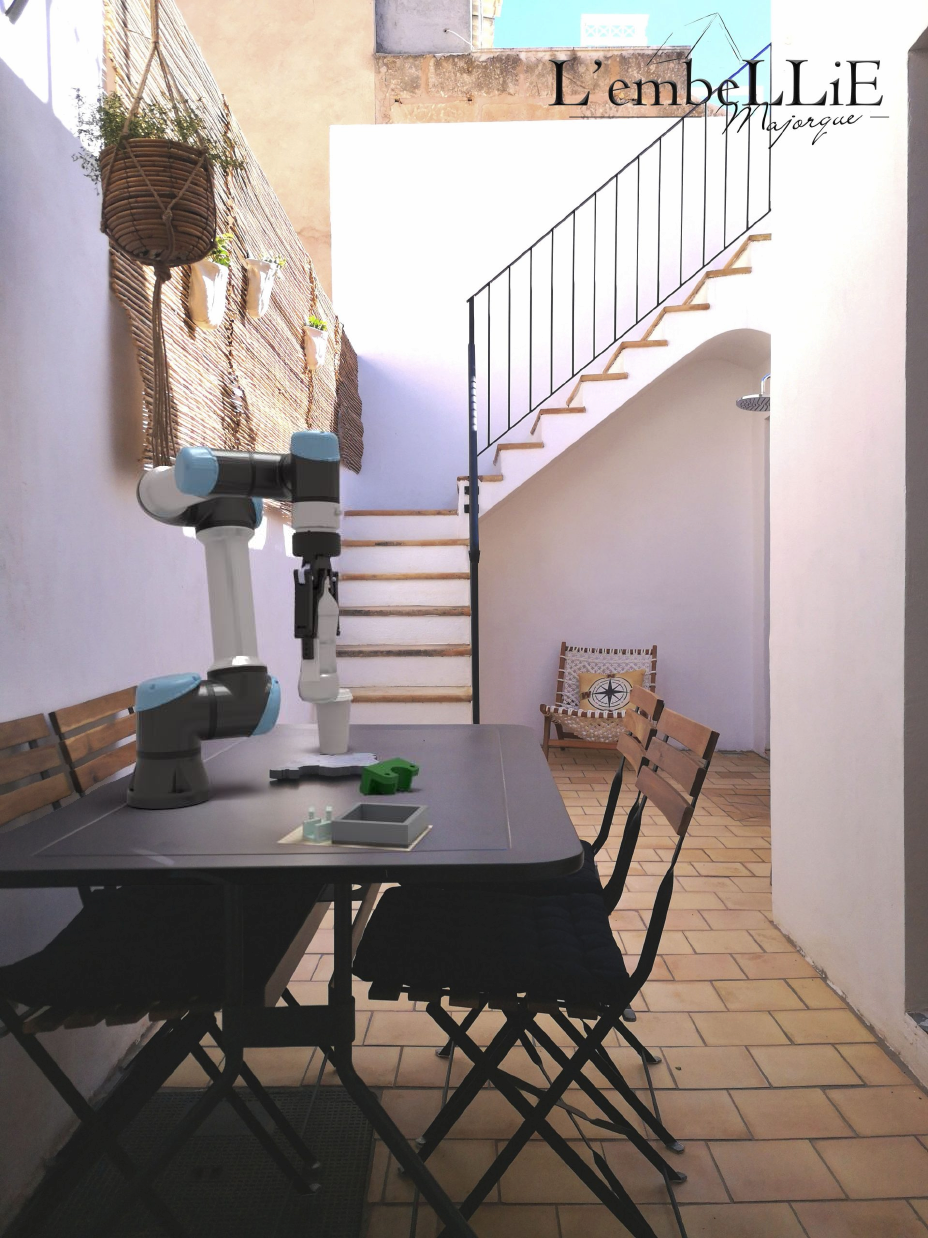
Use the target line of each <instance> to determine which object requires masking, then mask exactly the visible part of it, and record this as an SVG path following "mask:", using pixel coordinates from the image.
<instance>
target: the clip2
mask: <svg viewBox="0 0 928 1238" xmlns="http://www.w3.org/2000/svg"><path fill="white" fill-rule="evenodd" d="M321 819H322V818H320V817H315V819H311V820H309V819H308V820H304V821H302V825H303V835H302V839H304V840H308V841H311V842H314V843H318V844H319V843H323V842H326V841H330V840H332V838H331V821H327V822H323V823H321Z"/></svg>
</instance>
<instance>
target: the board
mask: <svg viewBox="0 0 928 1238" xmlns="http://www.w3.org/2000/svg"><path fill="white" fill-rule="evenodd" d="M432 827H433V825H429V824H428V828H427V829H426V830H425V831H424V832H423V833H422V834H421V835H420V836H419V837H418V839H417V840H416V841H415V842H414V843H413V844H412V845H411V846H410V847H409V848H392V847H375V846H358V845H342V844H332V840H330V841H326V842H323V843H319V844H318V843H314V842H311V841H308V840H304V839H302V835H303V824H302V825H300V826H299V827H297V828H296V829H295V830H293V831H291V832H290V833H288V834H287V835H285V836H284V837H283V838H281V839H280V840H278V841H277V842H276V844H287V845H288V844H289V845H304V846H305V845H306V846H321V847H339V848H353V849H355V848H357V849H370V850H371V849H373V850H388V851H403V852H405V851H406V852H410V851H411V850H412V849H413V848H414V847H415V846H416V844H417V843H419V841H420V840H421V839H422V838H423V837H424V836H425V835H426V834H427V833H428V832H429V831H430V830H431V829H432Z"/></svg>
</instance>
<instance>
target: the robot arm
mask: <svg viewBox="0 0 928 1238" xmlns="http://www.w3.org/2000/svg"><path fill="white" fill-rule="evenodd" d="M289 445H290V446H289V449H288V450H289V453H278V452H277V453H276V452H268V451H266V452H265V451H252V450H251V451H250V450H239V449H228V448H227V449H226V448H216V447H207V446H203V445H200V446H199V445H198V446H183V447H181V448H180V449H179V451H177V455H176V457H175V461H174V464H173V465H172V466H171V465H170V466H165V465H163V466H157V467H154V468H152V469H150V470H148V471H147V472H145V473H144V474H143V475H142V476H141V477H140V478H139V480H138V482H137V485H136V490H135V495H136V500H137V503H138V505H139V507H140V508H141V510H142V511H143V512H144V514H146V515H147V516H149V517H150V518H152V519H153V520H154V521H157V522H159V523H162V524H166V525H167V526H168V525H169V526H174V527H185V528H194V531H195V538H196V540H198V542H200V543H201V544H203V546H204V557H205V567H206V580H207V582H206V583H207V591H208V592H207V593H208V604H209V615H210V616H209V617H210V619H209V620H210V628H211V630H210V631H211V640H212V652H213V653H212V655H213V663H212V664H211V666H209V668H208V669H207V670H206V675H207V676H206V679H202V677H201V675H200V674H199V673H198V672H186V673H185V672H184V673H175V674H174V673H173V674H169V675H163V676H157V677H154V678H150V679H147V680H145V681H142V682H141V683H139V684H138V685H137V687H136V689H135V701H134V707H133V710H134V711H135V752H136V753H135V754H136V758H135V759H136V760H135V765H134V767H133V770H132V774H131V777H130V780H129V784H128V787H127V789H126V790H127V792H126V803H127V805H129V806H130V807H132V808H133V807H134V808H137V809H138V808H139V809H150V810H152V809H153V810H155V809H156V810H157V809H158V810H159V809H175V808H183V807H189V806H194V805H198V804H202V803H204V802H207V801H209V800H210V799H211V798H212V795H213V793H212V789H213V787H212V783H211V779H210V777H209V775H208V772H207V768H206V766H205V763H204V761H203V757H202V743H203V742H205V741H216V740H225V739H226V740H227V739H228V740H229V739H236V738H239V739H240V738H251V737H256V736H261V735H266V734H269V733H270V732H271V731H272V730H273V729H274V727H276V726H275V725H276V723H277V721H278V718H279V715H280V710H281V702H282V696H281V693H282V692H281V687H280V684H279V680H278V678H277V676H275V675H272V674H269V673H268V666H267V664H265V663H264V662H263V661H262V660H261V659H260V658H259V650H258V649H259V647H258V638H257V626H256V616H255V604H254V594H253V593H254V591H253V583H252V574H251V573H252V571H251V561H250V560H251V559H250V550H249V549H250V548H249V542H250V541H251V540H252V539H253V537H254V536H255V534H256V532H255V531H256V530H257V529H258V528H260V526H261V524H262V522H263V517H264V514H263V512H264V503H263V499H264V500H272V501H273V502H278V503H291V504H290V505H291V507H290V508H291V509H290V510H291V511H290V512H291V522H290V523H291V524H290V525H291V526H290V527H291V529H292V530H294V531H295V532H293V533H292V535H291V550H292V552H291V553H292V556H293V557H295V558H302V560H301V567H300V568H298V569H296V568H294V569H293V571H292V575H293V581H294V582H293V583H294V611H293V613H294V614H293V615H294V616H293V617H294V621H293V625H294V626H293V627H294V628H293V632H294V634H293V637H294V639H296V640H297V639H300V669H301V672H300V673H301V681H320V654H319V639H315V638H316V636H317V626H318V604H319V600H320V597H322V596H323V595H324V587H325V580H326V579H327V576H329V585H330V588H328V591H329V593H330V594H331V596H332V597H333V598H334V600H335V601H336V603H337V605H338V608H339V609H340V607H339V603H340V602H339V601H340V600H339V577H340V573H339V570H333V569H332V568H333V567H332V561H331V559H332V558H338V557H339V556H340V555H341V554H342V549H341V543H342V541H341V540H342V539H341V538H342V537H341V536H342V535H341V534H340V533H339V532H337V531H338V530H339V529H340V528H341V516H342V515H343V514H344V512H343V510H342V509H341V504H340V503H341V502H340V501H341V500H340V499H341V498H340V497H341V496H340V495H341V493H340V489H341V487H340V485H341V482H340V479H341V477H340V476H341V475H340V469H341V468H340V463H341V462H340V461H341V455H340V447H339V445H340V444H339V438H338V436H337V434H335V433H333V432H330V431H326V430H317V429H316V430H315V429H314V430H313V429H310V430H309V429H308V430H298V431H294V432H293V433H292V434H291V436H290V444H289ZM340 628H341V627H340V614H339V615H338V624H337V631H336V637H340V636H341V630H340Z"/></svg>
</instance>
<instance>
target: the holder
mask: <svg viewBox="0 0 928 1238" xmlns="http://www.w3.org/2000/svg"><path fill="white" fill-rule="evenodd" d="M332 819H333V820H332V821H331V838H332V844H342V845H358V846H375V847H392V848H409V847H410V846H411V845H412V844H413V843H414V842H415V841H416V840H417V839H418V837H419V836H420V835H421V834H422V833H423V832H424V831H425V830H426V829H427V828H428V825H429V805H428V804H427V805H424V804H423V805H422V804H406V803H405V804H403V803H385V802H363V801H357V802H356V803H354V804H353V805H351V806H350V807H349V808H347V809H345V811H343V812H342V813H340V814H339V815H337V816H336V817H335V818H332Z"/></svg>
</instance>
